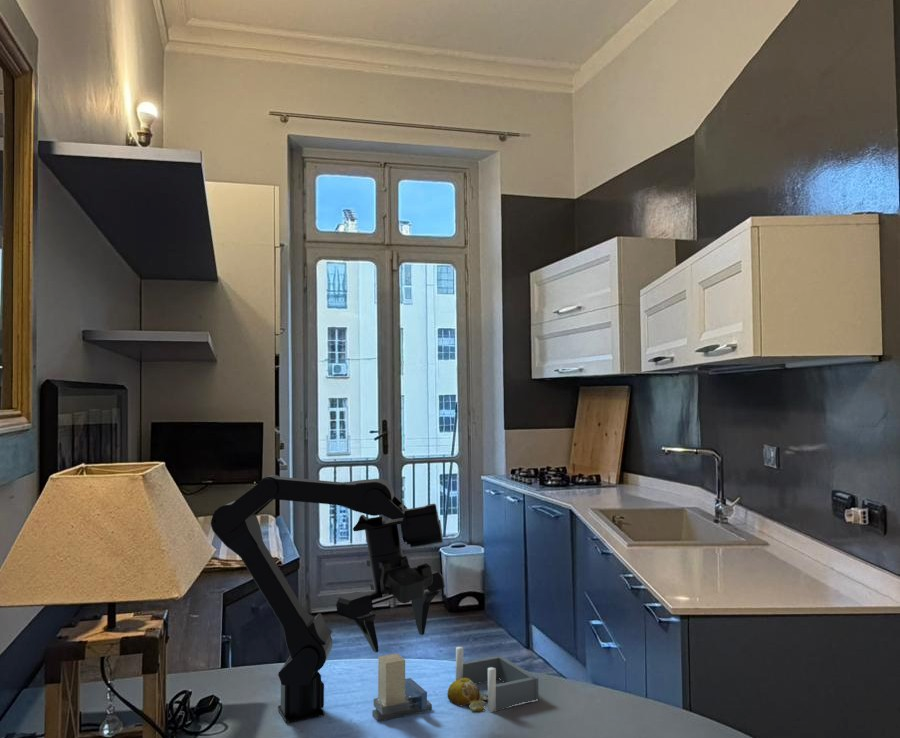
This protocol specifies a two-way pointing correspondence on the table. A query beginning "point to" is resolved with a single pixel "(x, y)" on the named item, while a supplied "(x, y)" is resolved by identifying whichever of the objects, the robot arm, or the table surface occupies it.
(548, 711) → the table surface
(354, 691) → the table surface
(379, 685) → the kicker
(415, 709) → the rail
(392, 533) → the robot arm
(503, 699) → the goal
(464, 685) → the fruit
